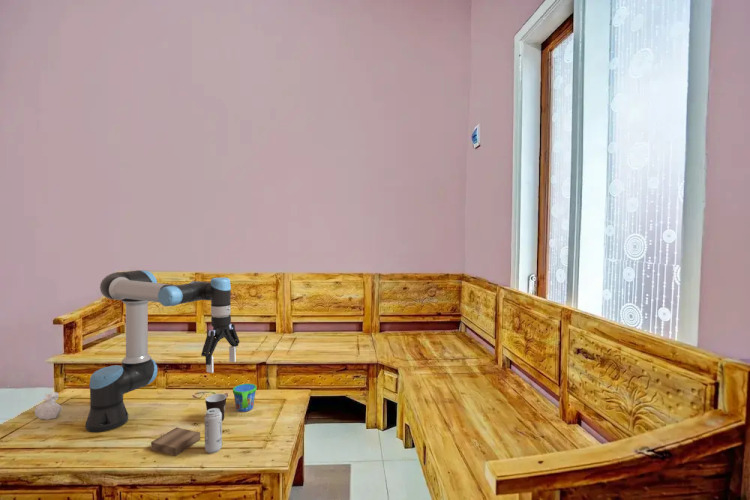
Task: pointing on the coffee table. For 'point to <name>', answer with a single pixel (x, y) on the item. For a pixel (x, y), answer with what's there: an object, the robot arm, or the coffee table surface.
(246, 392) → the snack cup
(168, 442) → the walnut board
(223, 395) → the coffee mug
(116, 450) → the coffee table surface
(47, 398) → the tied plastic bag
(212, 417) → the energy drink can
